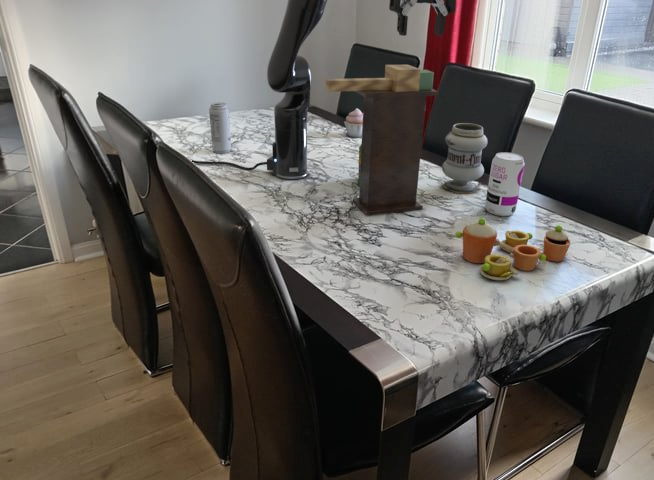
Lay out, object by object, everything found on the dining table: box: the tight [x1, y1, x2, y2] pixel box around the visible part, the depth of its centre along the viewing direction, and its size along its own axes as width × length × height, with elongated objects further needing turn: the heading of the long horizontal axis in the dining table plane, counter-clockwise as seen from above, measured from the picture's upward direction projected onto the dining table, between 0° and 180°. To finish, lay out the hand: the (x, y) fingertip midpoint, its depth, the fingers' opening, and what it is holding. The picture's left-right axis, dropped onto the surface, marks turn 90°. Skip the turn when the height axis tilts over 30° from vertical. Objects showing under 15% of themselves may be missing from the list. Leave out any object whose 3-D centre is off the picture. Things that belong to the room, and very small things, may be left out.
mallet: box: [325, 64, 422, 93], centre depth 136 cm, size 22×7×5 cm, turn 113°
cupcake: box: [343, 107, 363, 138], centre depth 212 cm, size 9×9×10 cm
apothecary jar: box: [441, 122, 488, 194], centre depth 165 cm, size 12×12×18 cm
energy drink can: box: [208, 102, 232, 154], centre depth 185 cm, size 6×6×15 cm
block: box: [419, 69, 435, 90], centre depth 141 cm, size 4×4×4 cm
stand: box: [352, 88, 439, 216], centre depth 147 cm, size 19×10×30 cm, turn 113°
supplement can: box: [484, 151, 526, 217], centre depth 151 cm, size 8×8×15 cm
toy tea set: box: [455, 217, 572, 281], centre depth 127 cm, size 26×16×10 cm, turn 122°
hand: (420, 35), depth 121 cm, fingers open, 8 cm apart
